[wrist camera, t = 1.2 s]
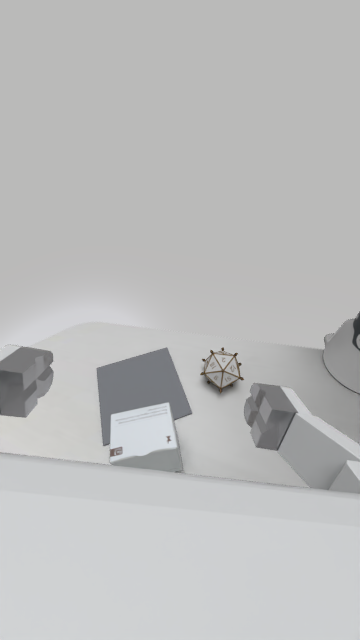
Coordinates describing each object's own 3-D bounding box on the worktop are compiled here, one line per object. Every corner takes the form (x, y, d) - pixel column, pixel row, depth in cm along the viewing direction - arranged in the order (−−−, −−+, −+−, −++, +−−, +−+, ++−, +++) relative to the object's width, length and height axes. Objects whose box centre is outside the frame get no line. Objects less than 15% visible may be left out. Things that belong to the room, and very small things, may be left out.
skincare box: (177, 434, 40) (172, 398, 30) (183, 473, 36) (180, 447, 26) (131, 444, 39) (109, 410, 29) (132, 485, 35) (107, 463, 25)
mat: (167, 348, 54) (167, 347, 54) (192, 413, 43) (192, 412, 43) (97, 369, 51) (96, 368, 51) (103, 445, 39) (103, 445, 39)
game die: (209, 385, 51) (188, 351, 48) (241, 366, 51) (222, 332, 48) (220, 410, 43) (196, 371, 40) (259, 388, 42) (237, 347, 39)
